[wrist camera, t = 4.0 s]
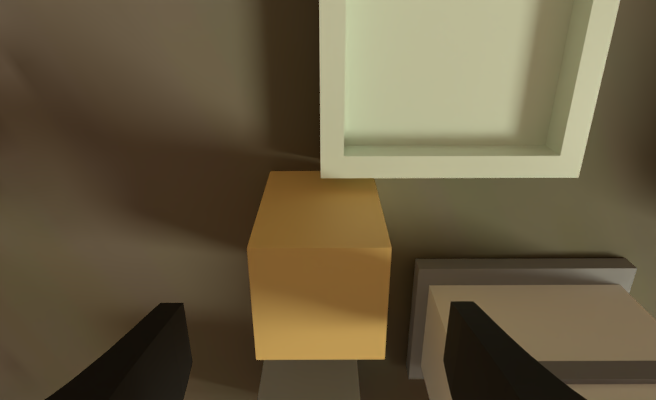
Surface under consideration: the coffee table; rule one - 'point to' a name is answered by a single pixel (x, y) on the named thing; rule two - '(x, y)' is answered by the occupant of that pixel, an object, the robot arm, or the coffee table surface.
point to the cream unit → (542, 320)
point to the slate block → (309, 380)
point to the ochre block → (319, 269)
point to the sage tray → (459, 86)
